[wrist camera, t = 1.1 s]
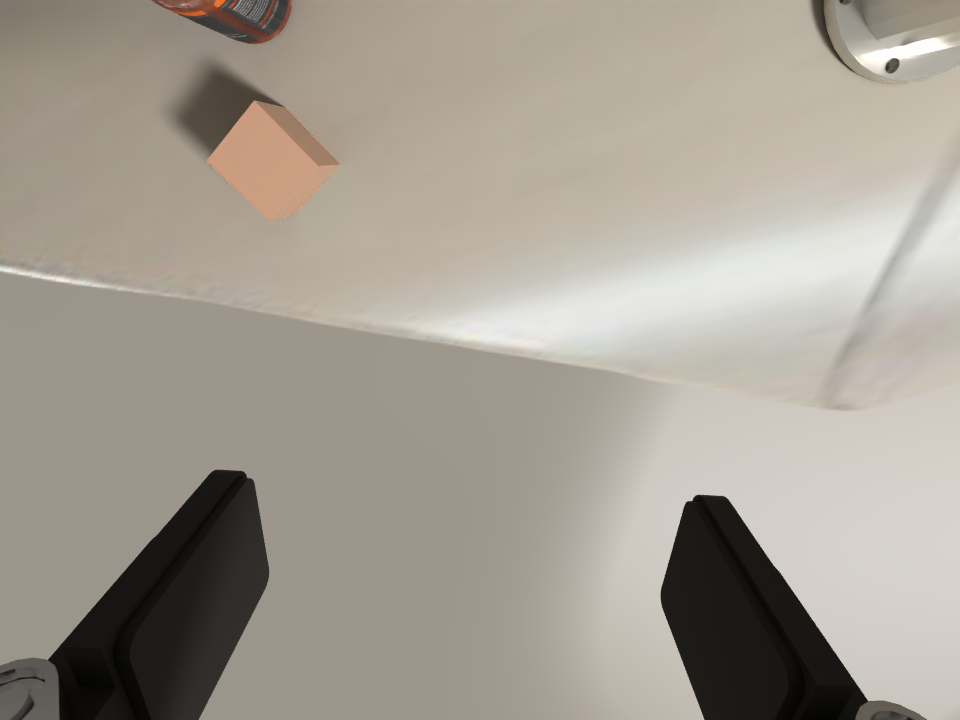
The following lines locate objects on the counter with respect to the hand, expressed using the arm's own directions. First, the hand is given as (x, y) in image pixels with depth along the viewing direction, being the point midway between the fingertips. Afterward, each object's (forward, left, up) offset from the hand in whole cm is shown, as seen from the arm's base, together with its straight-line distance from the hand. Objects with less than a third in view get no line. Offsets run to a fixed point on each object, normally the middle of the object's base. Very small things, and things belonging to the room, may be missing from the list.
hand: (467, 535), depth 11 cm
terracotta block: (+11, -11, -30) cm, 33 cm away
